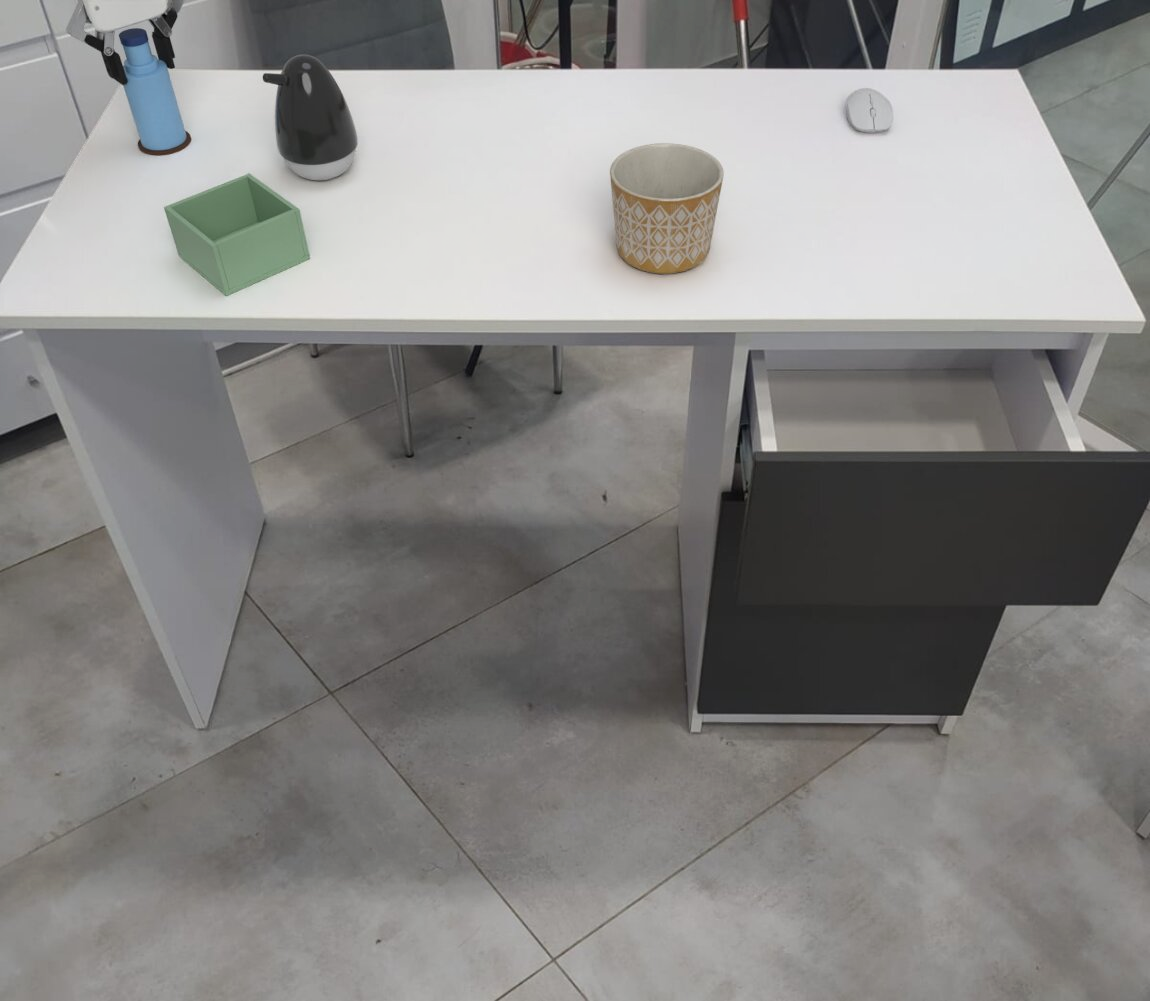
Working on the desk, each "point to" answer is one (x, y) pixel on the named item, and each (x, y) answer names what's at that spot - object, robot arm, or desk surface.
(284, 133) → the pump dispenser
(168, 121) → the bottle
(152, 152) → the coaster
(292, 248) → the bin
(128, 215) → the desk surface
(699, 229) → the planter
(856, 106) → the computer mouse
